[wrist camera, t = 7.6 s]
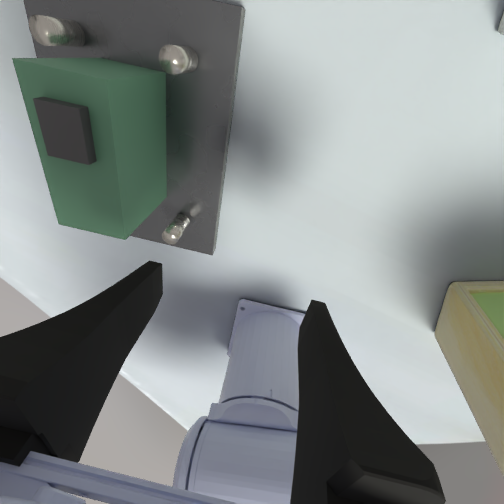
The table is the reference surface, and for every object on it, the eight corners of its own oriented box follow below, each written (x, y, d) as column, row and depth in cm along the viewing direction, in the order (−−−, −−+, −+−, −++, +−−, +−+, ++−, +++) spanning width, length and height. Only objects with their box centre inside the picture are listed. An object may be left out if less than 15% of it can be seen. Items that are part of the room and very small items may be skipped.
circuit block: (166, 197, 21) (119, 245, 16) (115, 185, 21) (51, 229, 16) (165, 72, 16) (97, 80, 11) (99, 57, 16) (-1, 58, 11)
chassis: (215, 248, 24) (203, 274, 21) (83, 217, 24) (54, 238, 22) (245, 9, 15) (231, -1, 12) (28, -39, 15) (-36, -61, 12)
